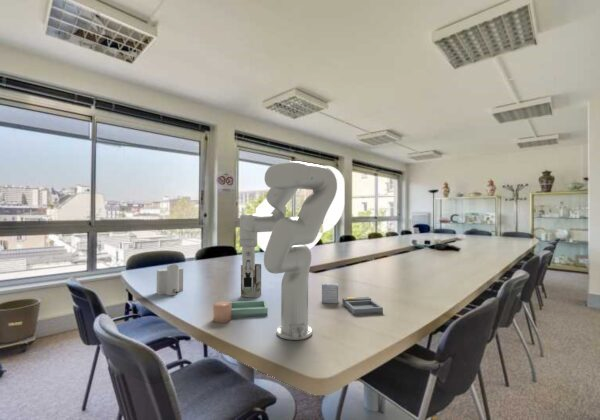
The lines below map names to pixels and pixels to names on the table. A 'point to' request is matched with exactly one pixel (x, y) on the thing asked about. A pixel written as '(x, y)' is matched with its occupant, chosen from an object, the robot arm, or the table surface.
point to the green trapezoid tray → (249, 308)
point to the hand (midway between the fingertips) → (247, 284)
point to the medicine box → (329, 292)
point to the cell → (243, 282)
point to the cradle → (361, 306)
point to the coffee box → (256, 283)
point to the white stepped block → (170, 280)
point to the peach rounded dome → (222, 312)
